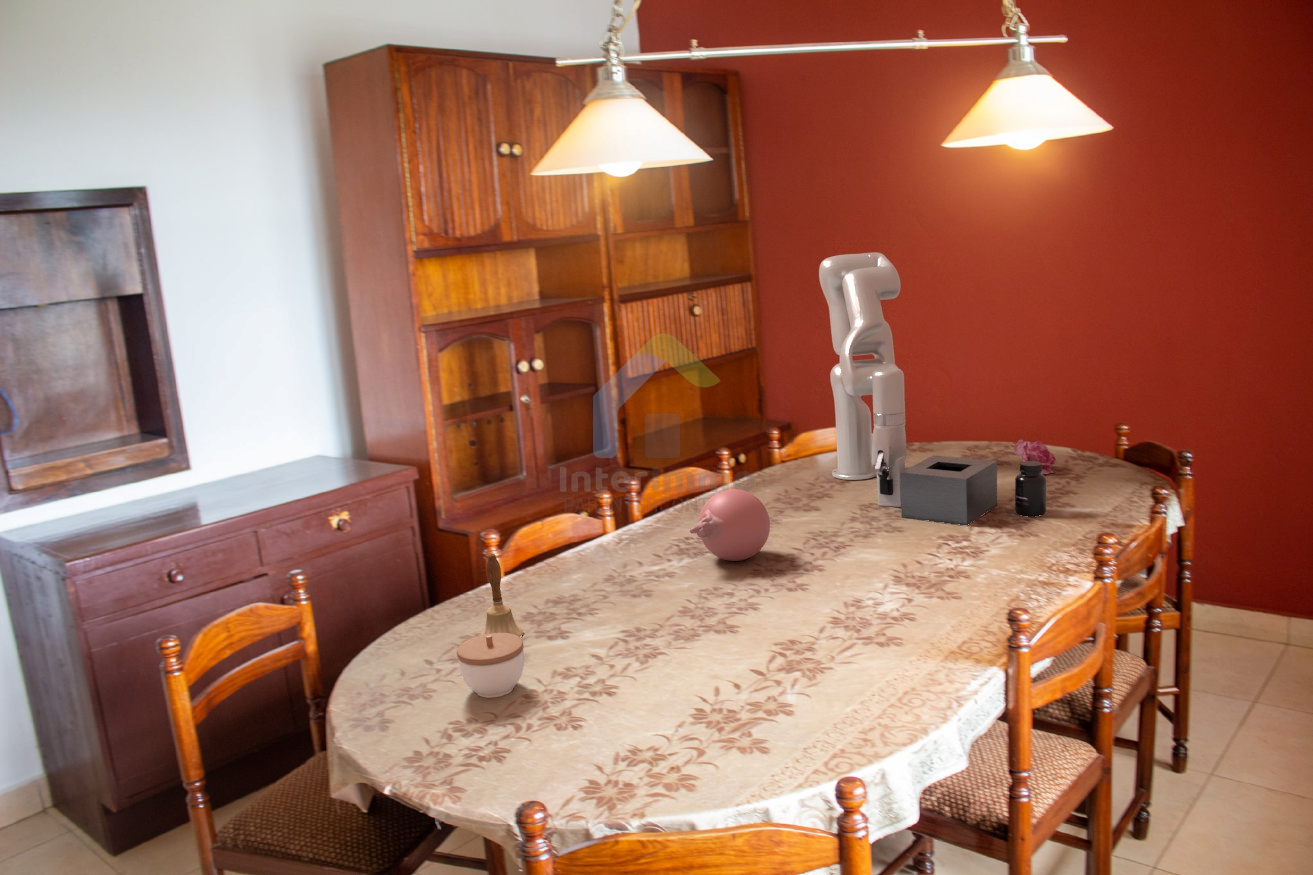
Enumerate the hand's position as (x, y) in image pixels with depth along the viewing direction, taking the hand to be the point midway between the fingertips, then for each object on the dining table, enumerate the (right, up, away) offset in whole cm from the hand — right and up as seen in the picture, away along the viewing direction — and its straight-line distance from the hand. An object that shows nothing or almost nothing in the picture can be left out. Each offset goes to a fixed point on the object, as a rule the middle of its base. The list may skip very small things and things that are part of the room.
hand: (891, 491), depth 253 cm
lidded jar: (-84, -28, -84) cm, 122 cm away
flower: (+43, +4, +19) cm, 47 cm away
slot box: (+12, -4, -9) cm, 15 cm away
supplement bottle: (+29, -5, -15) cm, 33 cm away
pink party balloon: (-42, -14, -31) cm, 54 cm away
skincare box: (0, -4, +1) cm, 4 cm away
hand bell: (-87, -24, -62) cm, 109 cm away
